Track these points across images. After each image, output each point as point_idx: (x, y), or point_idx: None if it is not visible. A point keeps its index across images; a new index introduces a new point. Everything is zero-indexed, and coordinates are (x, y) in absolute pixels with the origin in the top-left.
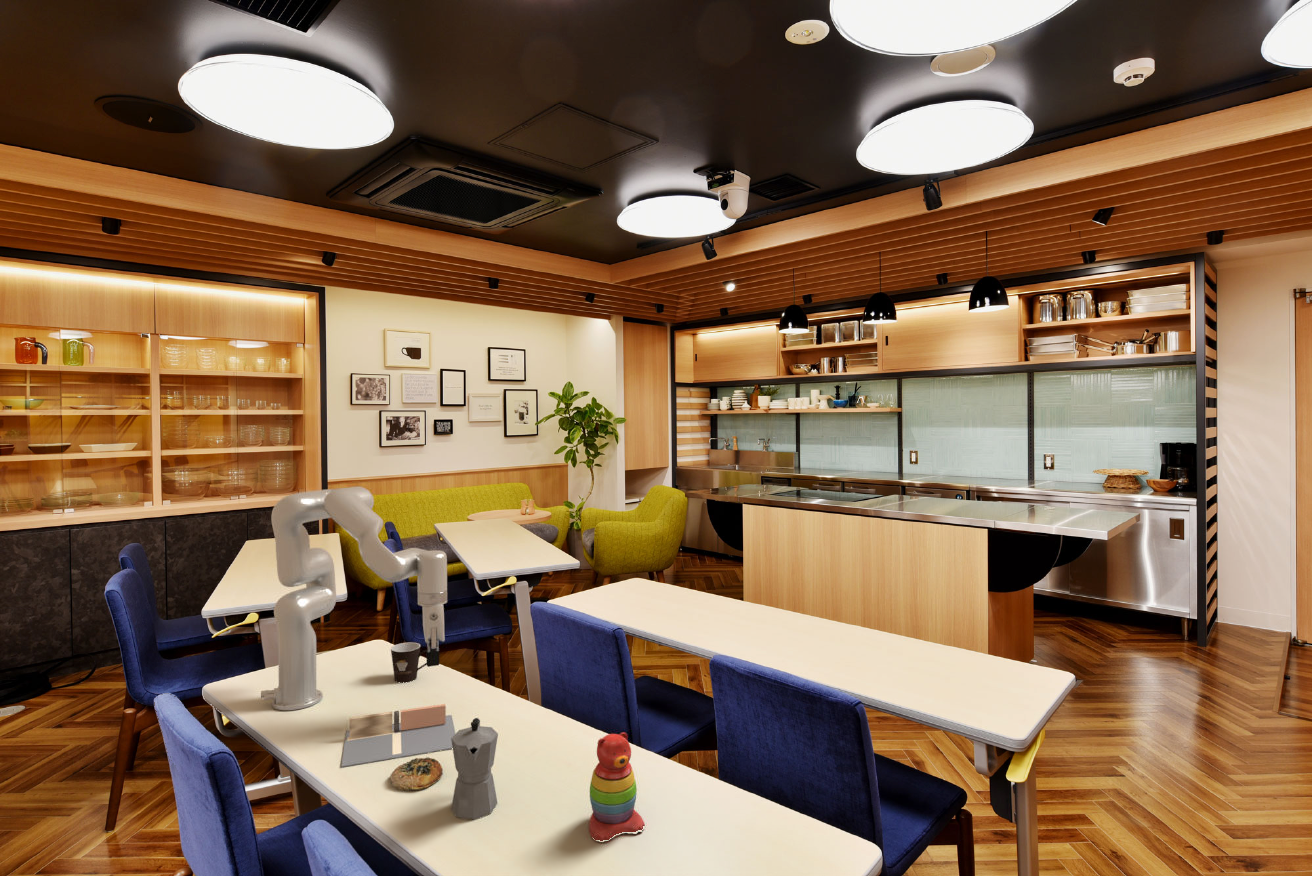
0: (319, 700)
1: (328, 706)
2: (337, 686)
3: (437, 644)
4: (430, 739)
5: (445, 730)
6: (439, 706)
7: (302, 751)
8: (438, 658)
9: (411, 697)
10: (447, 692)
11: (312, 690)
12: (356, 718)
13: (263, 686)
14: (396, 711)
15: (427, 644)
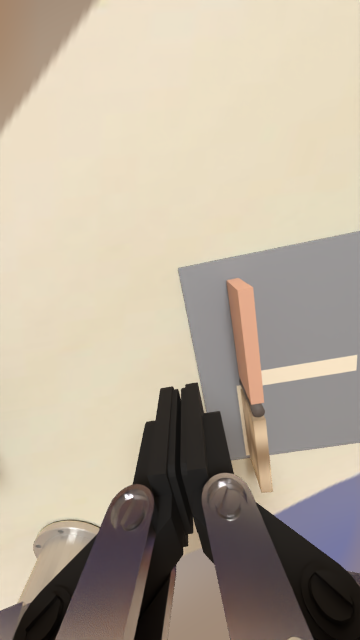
0: (78, 523)
1: (98, 504)
2: (4, 510)
3: (292, 594)
4: (311, 303)
5: (271, 273)
6: (254, 305)
7: (274, 499)
8: (199, 414)
9: (55, 379)
10: (19, 298)
11: (72, 556)
12: (271, 481)
13: (15, 589)
14: (256, 412)
15: (168, 622)
